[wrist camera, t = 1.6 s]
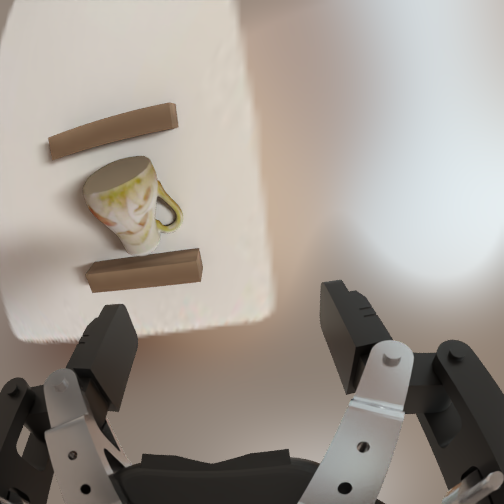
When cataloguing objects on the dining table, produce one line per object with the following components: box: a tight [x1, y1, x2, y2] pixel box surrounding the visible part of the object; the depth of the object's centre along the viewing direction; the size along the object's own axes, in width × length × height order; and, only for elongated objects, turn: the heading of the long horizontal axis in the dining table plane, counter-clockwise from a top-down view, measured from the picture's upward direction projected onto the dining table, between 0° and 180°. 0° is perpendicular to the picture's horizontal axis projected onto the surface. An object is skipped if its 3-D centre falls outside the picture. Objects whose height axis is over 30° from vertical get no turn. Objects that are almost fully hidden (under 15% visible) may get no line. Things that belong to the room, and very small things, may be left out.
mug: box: [83, 156, 183, 256], centre depth 26 cm, size 8×10×10 cm
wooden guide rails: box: [48, 103, 203, 293], centre depth 28 cm, size 18×13×3 cm
